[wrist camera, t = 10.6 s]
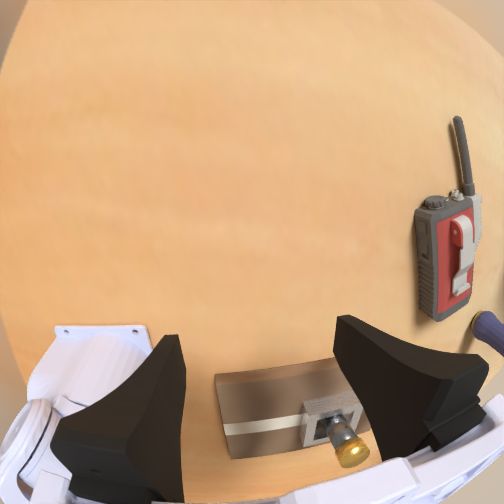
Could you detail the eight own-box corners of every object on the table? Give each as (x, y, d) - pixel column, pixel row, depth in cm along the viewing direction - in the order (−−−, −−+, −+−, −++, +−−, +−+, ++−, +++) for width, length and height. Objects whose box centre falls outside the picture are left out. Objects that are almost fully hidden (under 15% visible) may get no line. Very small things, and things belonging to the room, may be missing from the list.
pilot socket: (299, 433, 26) (303, 447, 24) (302, 401, 24) (308, 416, 22) (347, 421, 27) (353, 433, 25) (357, 388, 25) (365, 401, 23)
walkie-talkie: (466, 289, 26) (453, 115, 19) (490, 304, 22) (485, 114, 15) (415, 320, 26) (391, 124, 19) (439, 342, 22) (425, 120, 15)
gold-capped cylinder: (315, 424, 25) (339, 471, 18) (315, 406, 25) (342, 454, 17) (339, 418, 25) (367, 461, 18) (341, 399, 25) (372, 443, 18)
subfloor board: (230, 450, 28) (231, 460, 26) (215, 374, 24) (215, 386, 22) (365, 423, 30) (369, 431, 28) (391, 343, 26) (398, 352, 24)
